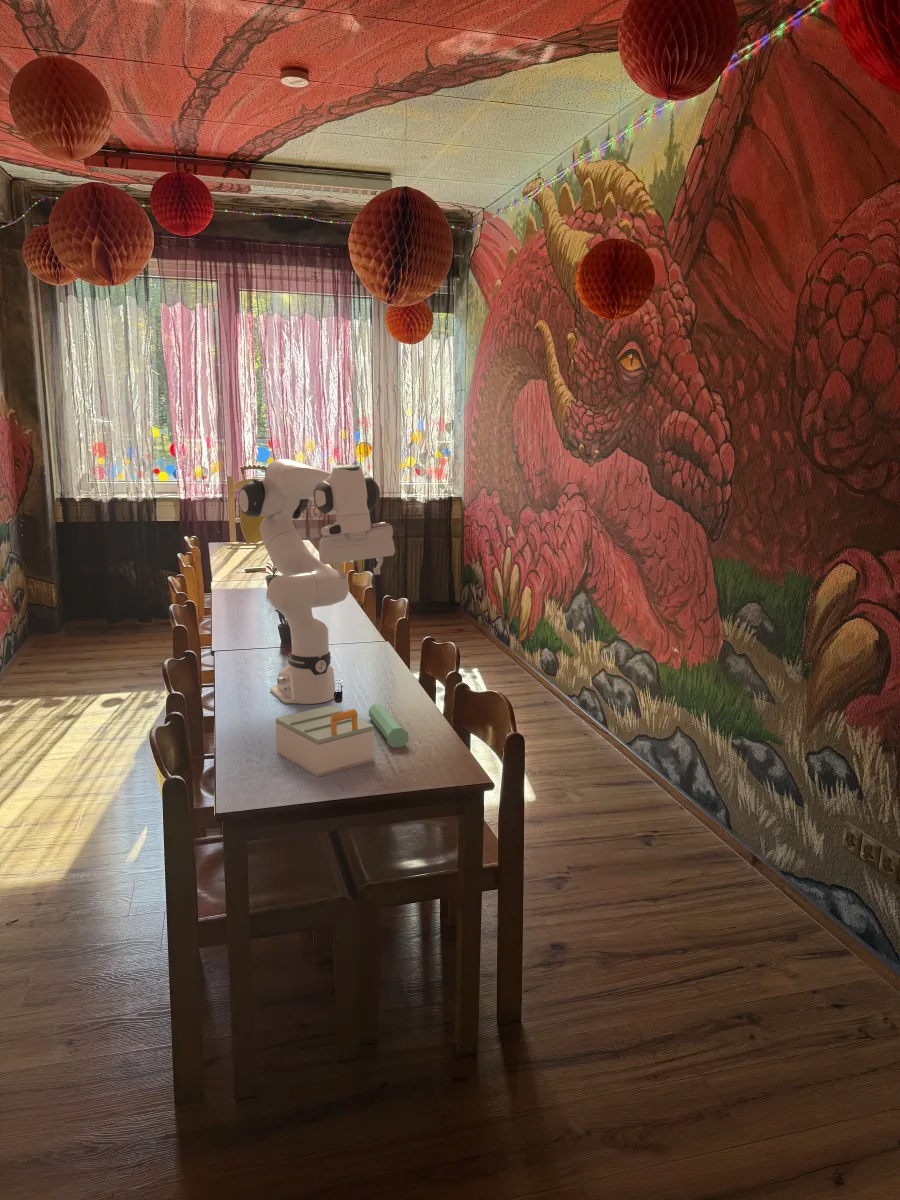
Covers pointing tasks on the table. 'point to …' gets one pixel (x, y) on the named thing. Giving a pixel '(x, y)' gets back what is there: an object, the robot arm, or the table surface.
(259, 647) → the table surface
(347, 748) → the parts tub
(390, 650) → the table surface
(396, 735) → the green octagonal rod
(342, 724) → the lid
